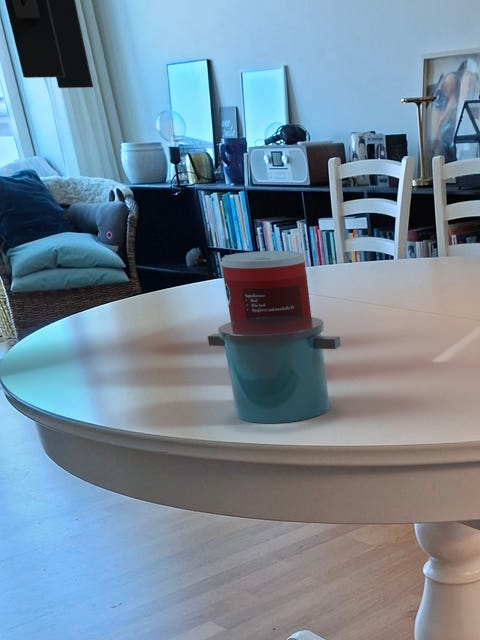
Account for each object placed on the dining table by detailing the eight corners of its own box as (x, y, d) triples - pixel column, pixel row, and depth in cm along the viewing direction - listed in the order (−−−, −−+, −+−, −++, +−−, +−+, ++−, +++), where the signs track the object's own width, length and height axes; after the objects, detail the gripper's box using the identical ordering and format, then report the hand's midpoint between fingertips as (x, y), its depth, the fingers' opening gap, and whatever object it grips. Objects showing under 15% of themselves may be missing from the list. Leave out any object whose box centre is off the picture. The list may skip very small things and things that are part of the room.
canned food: (279, 362, 92) (263, 249, 87) (334, 370, 88) (321, 252, 83) (222, 377, 87) (202, 258, 82) (279, 387, 83) (261, 262, 77)
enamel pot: (324, 427, 71) (313, 336, 67) (198, 421, 74) (181, 333, 70) (363, 399, 78) (355, 316, 75) (246, 395, 81) (233, 314, 77)
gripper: (-11, -389, 48) (87, 70, 59) (68, -226, 69) (129, 89, 80) (-162, -400, 47) (-34, 72, 57) (-34, -231, 68) (42, 91, 78)
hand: (61, 83), depth 69 cm, fingers open, 13 cm apart
